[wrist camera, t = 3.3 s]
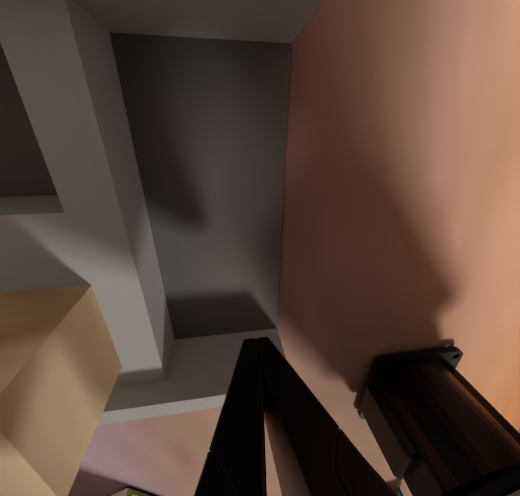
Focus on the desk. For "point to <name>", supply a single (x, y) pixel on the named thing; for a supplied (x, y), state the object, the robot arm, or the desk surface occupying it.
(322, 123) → the desk surface
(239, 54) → the tray
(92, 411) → the wooden cube
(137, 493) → the syrup box
